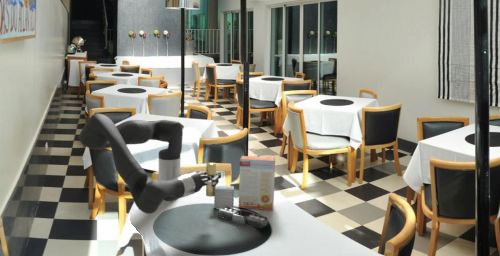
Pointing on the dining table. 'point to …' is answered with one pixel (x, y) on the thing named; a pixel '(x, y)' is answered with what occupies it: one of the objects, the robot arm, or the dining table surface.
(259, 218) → the chain right
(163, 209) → the dining table surface
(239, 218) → the link seat
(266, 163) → the cracker box
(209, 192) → the link pin
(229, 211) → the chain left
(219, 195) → the medicine box
